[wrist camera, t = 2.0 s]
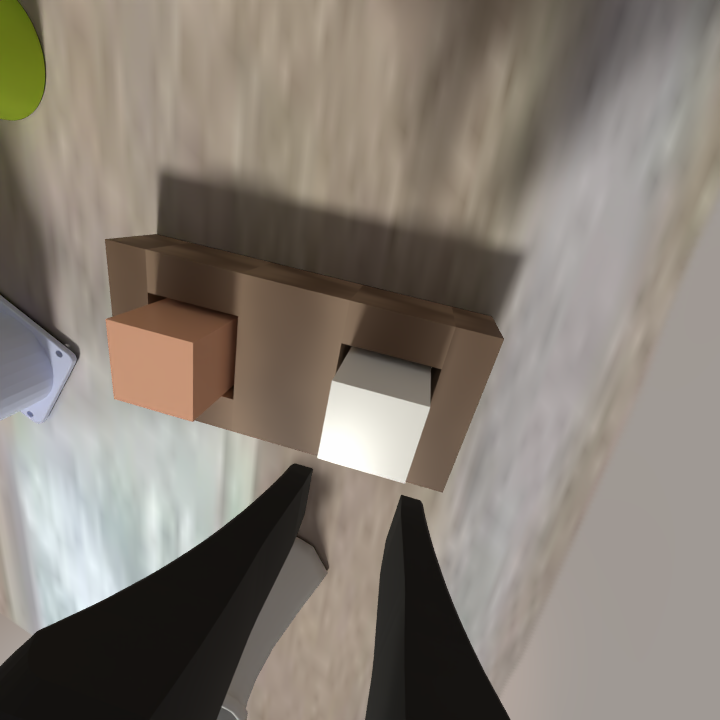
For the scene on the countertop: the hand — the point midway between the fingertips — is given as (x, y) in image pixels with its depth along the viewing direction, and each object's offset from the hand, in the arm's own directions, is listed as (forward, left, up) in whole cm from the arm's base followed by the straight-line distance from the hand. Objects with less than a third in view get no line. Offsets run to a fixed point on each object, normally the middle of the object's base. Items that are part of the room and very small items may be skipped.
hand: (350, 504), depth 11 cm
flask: (+6, -19, -11) cm, 22 cm away
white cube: (0, 0, -8) cm, 8 cm away
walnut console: (-4, -3, -10) cm, 12 cm away
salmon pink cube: (-9, -5, -8) cm, 13 cm away
